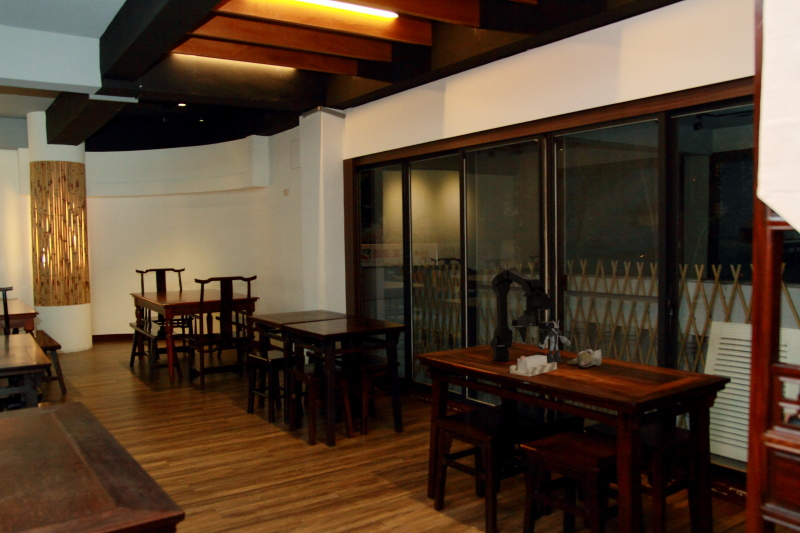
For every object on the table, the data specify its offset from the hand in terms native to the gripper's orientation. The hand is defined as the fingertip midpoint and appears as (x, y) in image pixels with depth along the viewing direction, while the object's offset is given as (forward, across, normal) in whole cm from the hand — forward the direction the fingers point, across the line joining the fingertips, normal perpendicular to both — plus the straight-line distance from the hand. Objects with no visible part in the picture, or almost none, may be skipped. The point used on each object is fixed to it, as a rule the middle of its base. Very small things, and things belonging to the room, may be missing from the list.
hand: (532, 343), depth 275 cm
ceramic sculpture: (+12, +12, +24) cm, 29 cm away
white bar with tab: (+11, 0, -1) cm, 11 cm away
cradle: (+12, 0, 0) cm, 12 cm away
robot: (+12, -4, +23) cm, 26 cm away
